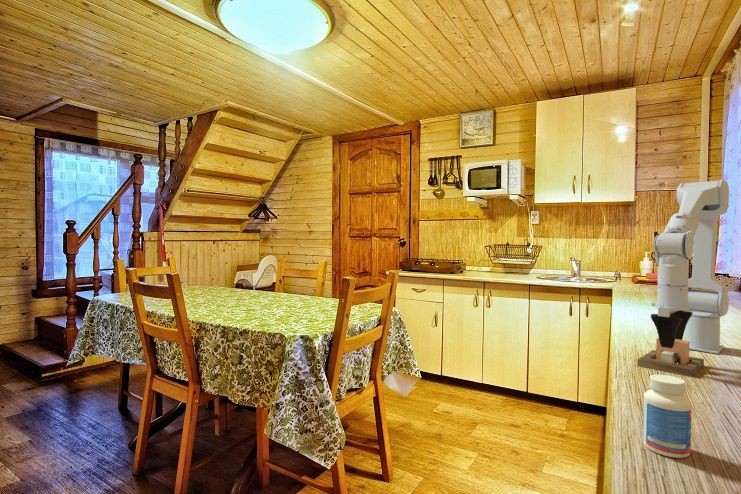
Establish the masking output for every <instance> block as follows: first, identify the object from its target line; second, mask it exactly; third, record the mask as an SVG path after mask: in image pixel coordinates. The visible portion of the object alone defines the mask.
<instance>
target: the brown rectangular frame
mask: <svg viewBox="0 0 741 494" xmlns="http://www.w3.org/2000/svg"><path fill="white" fill-rule="evenodd" d="M680 358H681V354H680V353H674V352H668V351H663V352H662V353H661V360H656V350H655V349H652V350H651V351H649V352H648V353H646V354H644V355H642V356H641V357H639V358H638V359H637V367H640V368H641V367H642V368H646V369H651V370H656V371H662V372H667V373H670V374H676V375H681V376H686V377H690V378H692V377H694V376H695V375H696V374H697V373H699V371H700V370H701V369H702V368H703V367H704V366H705V359H704V358H700V357H694V356H690V355H689V364H688V365H682V364H680ZM673 362H674V363H673ZM677 363H678V364H677Z"/></svg>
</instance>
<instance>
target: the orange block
mask: <svg viewBox="0 0 741 494" xmlns="http://www.w3.org/2000/svg"><path fill="white" fill-rule="evenodd" d="M655 340H656V342H655V343H656V344H655V346H656V347H655V349H656V360H661V353H662V352H663V351H668V352H674V353H680V354H681V358H680V364H682V365H688V364H689V356H690V349H689V345H690V341H685V339H682V340H679V339H675V342H674V346H673V348H666V347H661V345H660V341H659V337H657V338H656V339H655Z"/></svg>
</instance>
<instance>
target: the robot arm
mask: <svg viewBox="0 0 741 494" xmlns="http://www.w3.org/2000/svg"><path fill="white" fill-rule="evenodd" d="M729 199H730V189H729V184H728V182H727V180H725V179H720V180H711V181H698V182H687V183H686V182H681V183H679V185H678V186H677V188H676V202H677V204H678V206H679V209H678V212H677V213H674V214H672V215H671V217H670V219H669V220H668V222H667V225H666V227H665V229H664V231H663V232H661V233H659V234H656V236H655V238H654V240H653V251H654V252H653V253H654V256H655V257H654V258H655V259H654V261H655V265H657V284H656V285H657V286H656V287H657V290H656V292H657V293H656V294H657V295H656V301H652V302H650V306H653V307H656V308H657V313H652V314H650V319H651V320H652V322H653V324H654V326H655V329H656V332H657V335H658V337H657V338H659V341H660V345H661V347H666V348H673V346H674V342H675V339H679V340H685V341H690V345H689V350H693V351H698V352H699V351H700V352H704V353H711V354H716V355H717V354H720V352H722V351H723V350H724V349H725V346H724V345H721V343H720V342H721V341H720V340H721V317H724V316H726V315H727V314H728V311H729V304H730V302H729V289H728V288H727V286H726V285H725V284H724V283H722V282H721V281H719V280H717V279H716V277H715V275H716V274H715V273H716V253H717V233H718V232H717V231H718V221H719V218H720V216H721V215H722V216H723V215H724V214H728V209H729V201H730V200H729ZM691 257H692V269H691V270H692V272H691V277H690V278H689V273H690V272H689V270H690V258H691ZM702 289H704V290H702ZM705 289H706V290H705ZM707 289H708V290H707ZM712 290H714V291H712ZM683 337H684V338H683Z"/></svg>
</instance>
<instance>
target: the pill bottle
mask: <svg viewBox="0 0 741 494" xmlns="http://www.w3.org/2000/svg"><path fill="white" fill-rule="evenodd" d="M649 387H650V388H651V389H648V390H647V391H645V392H644V394H643V406H642V407H643V410H642V411H643V413H642V414H643V418H642V420H643V421H642V422H643V423H642V424H643V425H642V429H643V430H642V442H643V445H644V446H645V448H647V449H648V450H650V451H651V452H654V453H655V454H659V455H661V456H665V457H669V458H674V459H675V458H676V459H683V458H687V457H689V456H690V455H691V451H692V403H691V402H692V401H691V400H690V399H689V398H688V397H687V396H686V395H684V394H685V392H686V381H685V380H684V379H682V378H679V377H677V376H672V375H667V374H666V375H665V374H652V375H650V376H649Z"/></svg>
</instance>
